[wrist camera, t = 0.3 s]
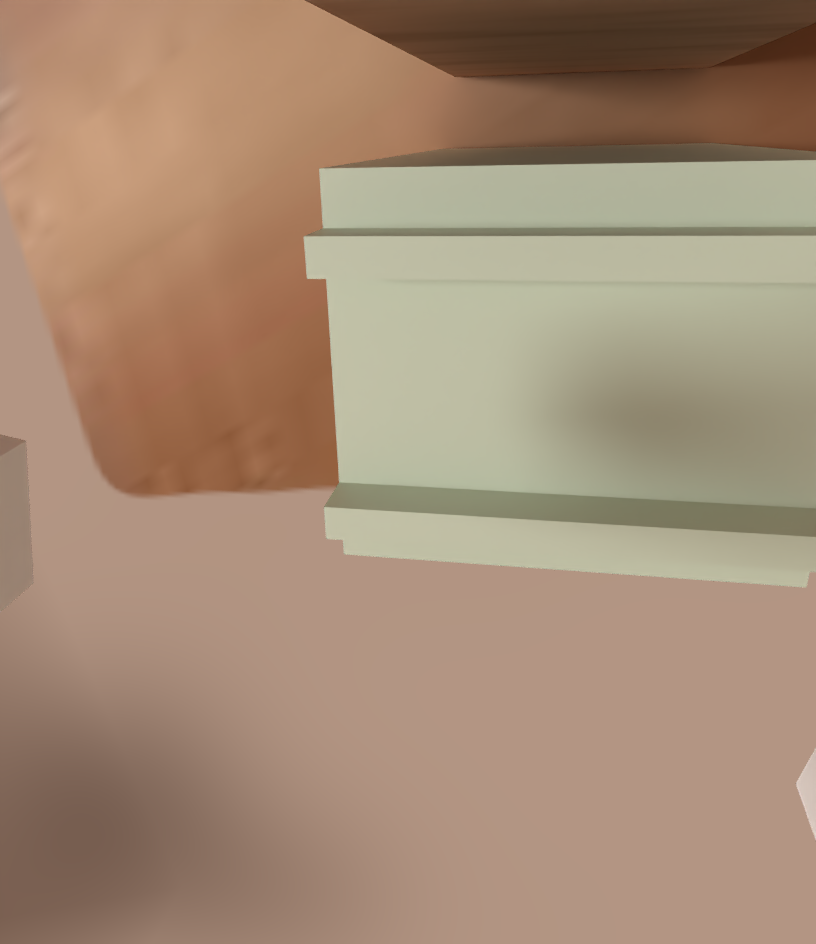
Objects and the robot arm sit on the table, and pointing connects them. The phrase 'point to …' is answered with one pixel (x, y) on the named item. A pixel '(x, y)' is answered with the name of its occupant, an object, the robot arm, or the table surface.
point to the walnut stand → (573, 32)
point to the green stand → (576, 358)
